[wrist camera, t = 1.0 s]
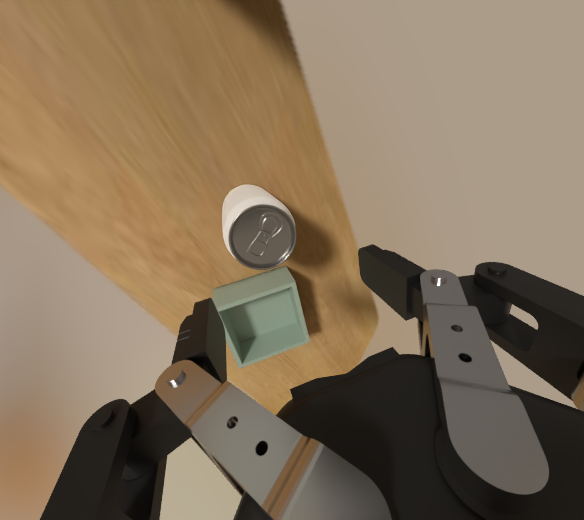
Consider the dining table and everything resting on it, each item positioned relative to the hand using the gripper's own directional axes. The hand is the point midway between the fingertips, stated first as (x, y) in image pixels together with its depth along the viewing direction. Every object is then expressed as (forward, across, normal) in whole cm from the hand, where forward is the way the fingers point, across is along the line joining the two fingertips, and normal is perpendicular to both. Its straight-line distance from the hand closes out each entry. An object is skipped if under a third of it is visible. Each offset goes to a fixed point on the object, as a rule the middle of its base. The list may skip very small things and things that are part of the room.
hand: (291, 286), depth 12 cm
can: (+20, 0, 0) cm, 20 cm away
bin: (+20, +3, +15) cm, 25 cm away
